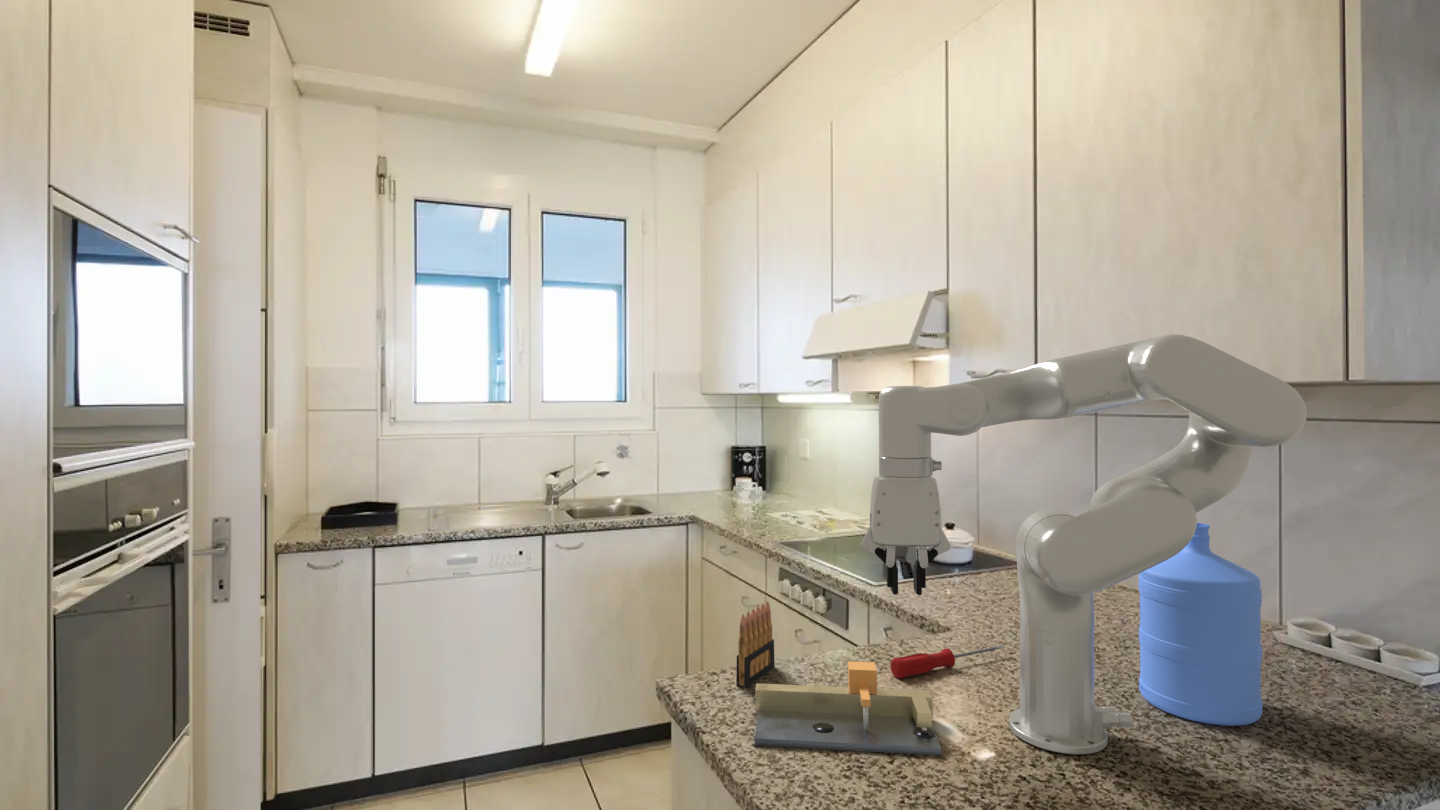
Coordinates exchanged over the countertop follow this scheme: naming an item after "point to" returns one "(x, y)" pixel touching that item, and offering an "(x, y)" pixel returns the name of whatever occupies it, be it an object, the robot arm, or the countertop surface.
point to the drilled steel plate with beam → (845, 719)
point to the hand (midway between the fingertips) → (905, 591)
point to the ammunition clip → (755, 646)
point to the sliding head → (863, 684)
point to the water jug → (1201, 636)
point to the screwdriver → (927, 662)
